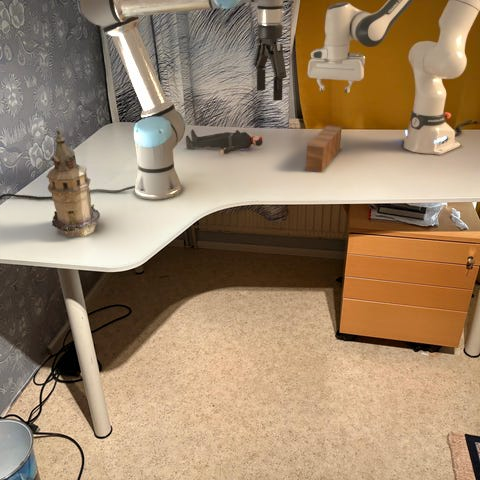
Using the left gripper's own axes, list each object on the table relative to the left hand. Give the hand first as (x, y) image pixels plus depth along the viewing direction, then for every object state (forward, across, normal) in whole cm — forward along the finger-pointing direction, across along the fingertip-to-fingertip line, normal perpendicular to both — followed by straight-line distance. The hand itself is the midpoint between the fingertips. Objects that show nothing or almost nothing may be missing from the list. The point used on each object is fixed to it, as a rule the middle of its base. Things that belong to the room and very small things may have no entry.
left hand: (269, 95), depth 171 cm
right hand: (+6, +17, -33) cm, 38 cm away
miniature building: (+29, -12, +65) cm, 72 cm away
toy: (+29, +37, +3) cm, 47 cm away
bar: (+29, +11, -27) cm, 41 cm away
